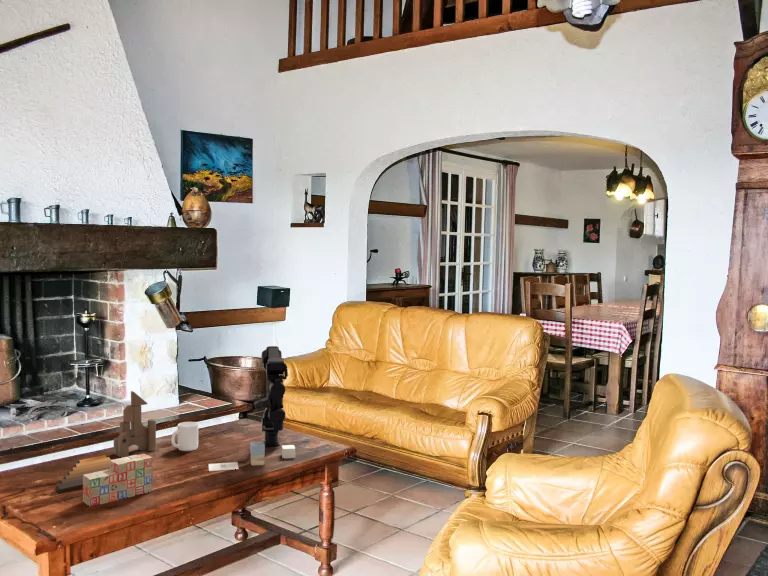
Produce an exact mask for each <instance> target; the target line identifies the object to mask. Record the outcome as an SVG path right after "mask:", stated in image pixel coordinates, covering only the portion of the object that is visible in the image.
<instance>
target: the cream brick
mask: <svg viewBox="0 0 768 576" xmlns="http://www.w3.org/2000/svg"><path fill="white" fill-rule="evenodd" d="M281 457H282V459H283V458H284V459H295V458H296V446H295V445H294V444H288V445H287V444H285V445H283V444H282V445H281Z"/></svg>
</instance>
